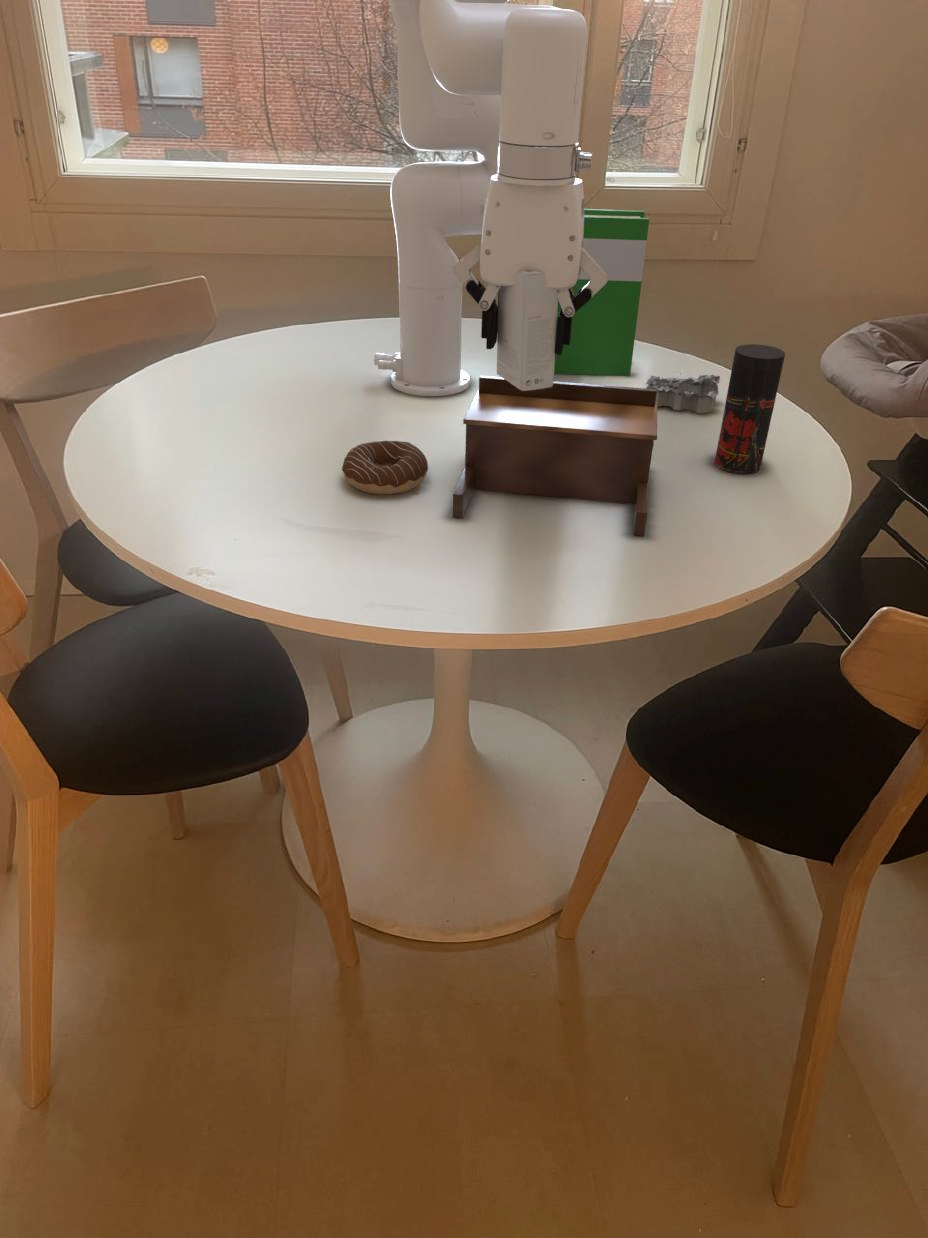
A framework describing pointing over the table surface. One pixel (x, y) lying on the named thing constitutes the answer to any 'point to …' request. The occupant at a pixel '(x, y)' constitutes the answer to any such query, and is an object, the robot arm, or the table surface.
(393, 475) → the donut
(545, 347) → the cosmetic box
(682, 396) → the egg carton
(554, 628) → the table surface
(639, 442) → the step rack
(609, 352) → the hardback book
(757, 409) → the deodorant
